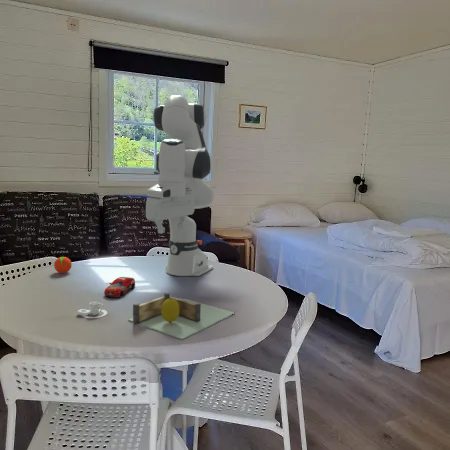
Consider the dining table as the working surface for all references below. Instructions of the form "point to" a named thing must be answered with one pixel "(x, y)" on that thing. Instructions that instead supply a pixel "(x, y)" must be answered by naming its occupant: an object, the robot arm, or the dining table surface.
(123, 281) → the race car
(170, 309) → the lemon
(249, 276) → the dining table surface
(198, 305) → the fence panel
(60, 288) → the dining table surface
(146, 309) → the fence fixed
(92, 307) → the teacup and saucer
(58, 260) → the clementine
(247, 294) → the dining table surface
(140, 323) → the mat
